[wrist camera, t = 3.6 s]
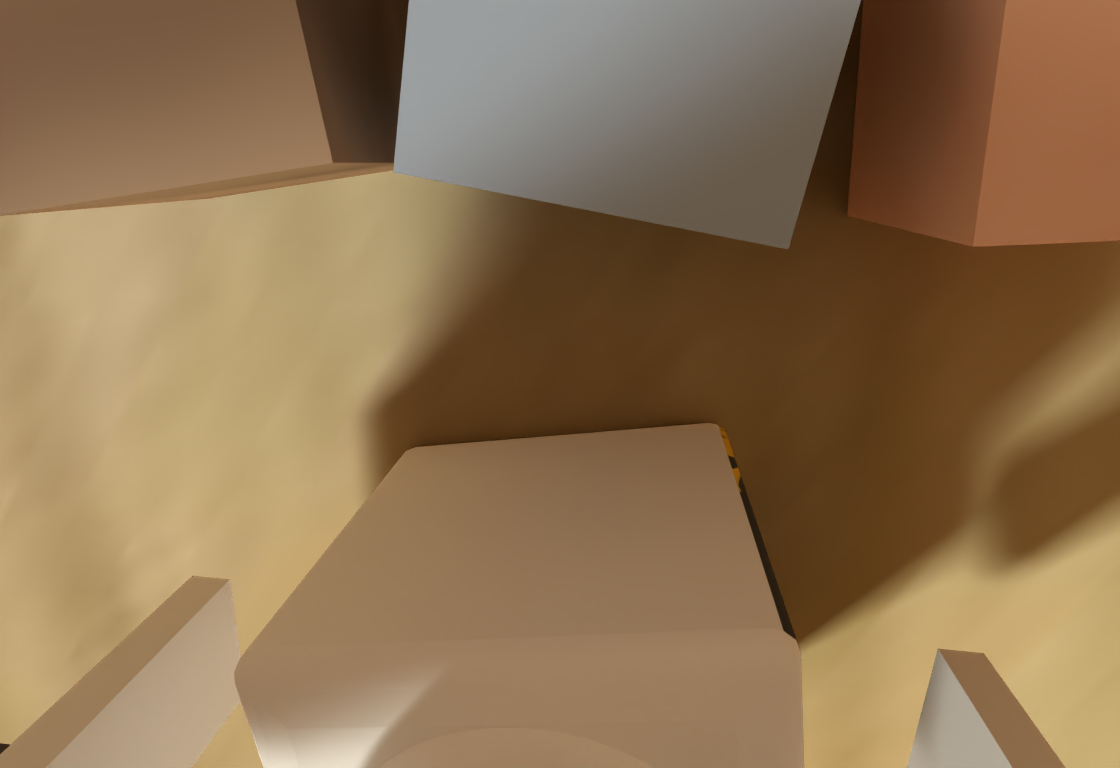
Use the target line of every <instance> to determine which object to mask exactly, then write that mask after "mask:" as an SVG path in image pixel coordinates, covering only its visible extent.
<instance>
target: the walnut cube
mask: <svg viewBox="0 0 1120 768" xmlns="http://www.w3.org/2000/svg"><path fill="white" fill-rule="evenodd" d="M408 5H409V0H0V216H3V215H15V214H27V213H39V212H51V211H63V210H75V209H87V208H100V207H112V206H124V205H136V204H148V203H160V202H172V201H184V200H196V199H208V198H215V197H222V196H228V195H235V194H241V193H248V192H254V191H261V190H267V189H274V188H280V187H287V186H293V185H300V184H306V183H313V182H319V181H326V180H332V179H339V178H345V177H352V176H359V175H365V174H372V173H378V172H385V171H391V170H393V168H394V157H395V147H396V136H397V125H398V114H399V103H400V92H401V81H402V71H403V60H404V49H405V38H406V27H407V16H408Z"/></svg>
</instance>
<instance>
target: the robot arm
mask: <svg viewBox="0 0 1120 768" xmlns="http://www.w3.org/2000/svg"><path fill="white" fill-rule="evenodd" d="M240 658H241V654H240V647H239V640H238V633H237V626H236V619H235V612H234V605H233V598H232V591H231V584H230V579H219V578H209V577H199V576H192V577H191V578H190V579H189V580H188V581H186V582H185V583H184V584H183V585H182V586H181V587H180V588H179V589H178V590H177V591H176V592H175V593H174V594H172V595H171V596H170V597H169V598H168V599H167V600H166V601H165V602H164V603H163V604H162V605H161V606H160V607H158V608H157V609H156V610H155V611H154V612H153V613H152V614H151V615H150V616H149V617H148V618H147V619H146V620H144V621H143V622H142V623H141V624H140V625H139V626H138V627H137V628H136V629H135V630H134V631H133V632H132V633H130V634H129V635H128V636H127V637H126V638H125V639H124V640H123V641H122V642H121V643H120V644H119V645H118V646H116V647H115V648H114V649H113V650H112V651H111V652H110V653H109V654H108V655H107V656H106V657H105V658H104V659H102V660H101V661H100V662H99V663H98V664H97V665H96V666H95V667H94V668H93V669H92V670H91V671H90V672H88V673H87V674H86V675H85V676H84V677H83V678H82V679H81V680H80V681H79V682H78V683H77V684H76V685H74V686H73V687H72V688H71V689H70V690H69V691H68V692H67V693H66V694H65V695H64V696H63V697H62V698H60V699H59V700H58V701H57V702H56V703H55V704H54V705H53V706H52V707H51V708H50V709H49V710H48V711H46V712H45V713H44V714H43V715H42V716H41V717H40V718H39V719H38V720H37V721H36V722H35V723H34V724H32V725H31V726H30V727H29V728H28V729H27V730H26V731H25V732H24V733H23V734H22V735H21V736H20V737H18V738H17V739H16V740H15V741H14V742H13V743H12V744H11V745H9V744H1V743H0V768H192V766H193V765H194V764H195V762H196V761H197V760H198V758H199V757H200V756H201V754H202V753H203V752H204V750H205V749H206V747H207V746H208V745H209V743H210V742H211V741H212V739H213V738H214V737H215V735H216V734H217V732H218V731H219V730H220V728H221V727H222V726H223V724H224V723H225V722H226V720H227V719H228V718H229V716H230V715H231V713H232V712H233V711H234V709H235V708H236V707H237V705H238V704H239V703H240V701H241V700H240V697H239V694H238V691H237V688H236V685H235V681H234V671H235V669H236V666H237V664H238V661H239V659H240ZM907 768H1065V766H1064V765H1063V763H1062V762H1061V761H1060V759H1059V758H1058V756H1057V755H1056V754H1055V752H1054V751H1053V749H1052V748H1051V747H1050V745H1049V744H1048V742H1047V741H1046V740H1045V738H1044V737H1043V735H1042V734H1041V733H1040V731H1039V730H1038V728H1037V727H1036V726H1035V724H1034V723H1033V721H1032V720H1031V719H1030V717H1029V716H1028V714H1027V713H1026V712H1025V710H1024V709H1023V707H1022V706H1021V705H1020V703H1019V702H1018V700H1017V699H1016V698H1015V696H1014V695H1013V693H1012V692H1011V691H1010V689H1009V688H1008V686H1007V685H1006V684H1005V682H1004V681H1003V679H1002V678H1001V677H1000V675H999V674H998V672H997V671H996V670H995V668H994V667H993V665H992V664H991V663H990V661H989V660H988V658H987V657H986V656H985V654H984V653H976V652H966V651H956V650H945V649H938V651H937V655H936V658H935V662H934V666H933V670H932V674H931V678H930V681H929V685H928V689H927V693H926V697H925V701H924V704H923V708H922V712H921V716H920V720H919V724H918V727H917V731H916V735H915V739H914V743H913V747H912V750H911V754H910V758H909V762H908V766H907Z"/></svg>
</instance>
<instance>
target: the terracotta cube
mask: <svg viewBox="0 0 1120 768" xmlns="http://www.w3.org/2000/svg"><path fill="white" fill-rule="evenodd" d="M847 216H849V217H853V218H857V219H861V220H865V221H869V222H873V223H877V224H881V225H886V226H890V227H894V228H898V229H902V230H906V231H910V232H914V233H918V234H922V235H926V236H931V237H935V238H939V239H943V240H947V241H951V242H955V243H959V244H963V245H967V246H971V247H981V246H1006V245H1031V244H1055V243H1080V242H1105V241H1120V0H864V3H863V16H862V29H861V42H860V56H859V69H858V82H857V95H856V108H855V121H854V134H853V147H852V160H851V174H850V187H849V200H848V213H847Z"/></svg>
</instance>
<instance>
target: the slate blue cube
mask: <svg viewBox="0 0 1120 768" xmlns="http://www.w3.org/2000/svg"><path fill="white" fill-rule="evenodd" d="M860 2H861V0H409V5H408V16H407V27H406V38H405V49H404V60H403V71H402V81H401V92H400V103H399V114H398V125H397V136H396V147H395V157H394V168H393V172H394V173H399V174H404V175H409V176H414V177H419V178H425V179H430V180H435V181H440V182H445V183H450V184H455V185H461V186H466V187H471V188H476V189H481V190H486V191H491V192H496V193H502V194H507V195H512V196H517V197H522V198H527V199H532V200H537V201H543V202H548V203H553V204H558V205H563V206H568V207H573V208H578V209H584V210H589V211H594V212H599V213H604V214H609V215H614V216H619V217H625V218H630V219H635V220H640V221H645V222H650V223H655V224H660V225H666V226H671V227H676V228H681V229H686V230H691V231H696V232H701V233H707V234H712V235H717V236H722V237H727V238H732V239H737V240H742V241H748V242H753V243H758V244H763V245H768V246H773V247H778V248H783V249H789V245H790V242H791V238H792V235H793V231H794V228H795V225H796V221H797V218H798V214H799V211H800V207H801V204H802V201H803V197H804V194H805V190H806V187H807V184H808V180H809V177H810V173H811V170H812V166H813V163H814V160H815V156H816V153H817V149H818V146H819V142H820V139H821V136H822V132H823V129H824V125H825V122H826V119H827V115H828V112H829V108H830V105H831V101H832V98H833V95H834V91H835V88H836V84H837V81H838V77H839V74H840V71H841V67H842V64H843V60H844V57H845V53H846V50H847V47H848V43H849V40H850V36H851V33H852V30H853V26H854V23H855V19H856V16H857V12H858V9H859V6H860Z"/></svg>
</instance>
